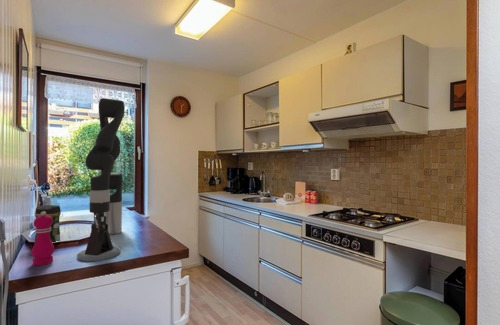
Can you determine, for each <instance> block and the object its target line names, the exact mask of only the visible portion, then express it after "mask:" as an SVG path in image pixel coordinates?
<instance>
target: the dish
mask: <svg viewBox="0 0 500 325" xmlns="http://www.w3.org/2000/svg"><path fill="white" fill-rule="evenodd" d="M112 246H113V245H112ZM85 251H86V249H83V250H82V251H79V252H78V253H77V254H76V259H77V261H79V262H83V263H84V262H85V263H89V262H91V263H93V262H94V263H95V262H102V261H107V260H109V259H110V258H111V259H114V258H115V257H117V255H118V256H119V255H120V254H121V248H120V247H118V246H115V245H114V246H113V249H112V250H110V251H107V252H105V253H102V254H100V255H97V256H96V255H89V254H85ZM106 259H107V260H106ZM111 259H110V260H111Z"/></svg>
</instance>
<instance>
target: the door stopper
mask: <svg viewBox="0 0 500 325" xmlns="http://www.w3.org/2000/svg"><path fill="white" fill-rule="evenodd" d="M90 225H91V226H90V228H91V230H90V235H89V237H88V241H87V245H86V249H85V250H86V251H85V254H89V255H96V256H97V255H100V254H102V253H105V252H107V251H110V250H112V249H113V242H112V238H111V236H110V234H109V232H108V224H106V231H105V232H104V241H100V242H99V241H98V228H97V227H96V223H94V222H93V223H92V224H90ZM102 228H103V227H101V229H102Z"/></svg>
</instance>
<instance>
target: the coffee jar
mask: <svg viewBox="0 0 500 325" xmlns="http://www.w3.org/2000/svg"><path fill="white" fill-rule="evenodd" d="M43 211H45V212H46V215H48V216H51V217H52V219H53V223H52V225H51V226H50V227H51V231H50V239H51V241H52V242H56V241H60V242H61V229H60V217H61V213H62V210H61V207H60V205H56V204H55V205H53V204H44V205H38V206H36V208H35V212H34V216H35V219H36V218H37V217H38V216H42V215H41V212H43ZM36 239H37V233H36V232H35V237H34V243H35V242H36Z"/></svg>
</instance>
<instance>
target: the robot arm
mask: <svg viewBox="0 0 500 325" xmlns="http://www.w3.org/2000/svg"><path fill="white" fill-rule="evenodd" d="M124 115H125V103H124V101H123V100H120V99H115V98H109V97H108V98H107V97H101V98H100V99H99V101H98V118H99V127H100V131H99V132H98V134H97V136H96V139H95V142H94V146H92V148H91V150H89V152H88V154H87V156H86V158H85V166H86V168H87V169H88V170H90V171H91V170H92V171H100V174H99V175H94V176H91V178H90V183H89V184H90V192H89V212H90V213H91V214H93V223H96V227H97V228H98V241H99V242H100V241H104V232H105V231H106V224H108V232H109V235H118V234H120V233H122V230H123V229H122V227H123V226H122V225H123V224H122V223H123V216H122V215H123V183H124V182H123V179H124V177H123V174H122V173H121V172H112V171H113V168H114V166H115V165H114V164H115V162H116V160H117V159H118V157H119V156H120V154H121V140H120V138H119V137H118V135H117V132H118V130H119V128H120V126H121V123H122V121H123V118H124ZM108 118H109V119H112V120H111V121H110V122H109V119H108ZM110 190H115V191H114V192H113V193H110ZM101 227H103V228H102V229H101Z"/></svg>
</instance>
